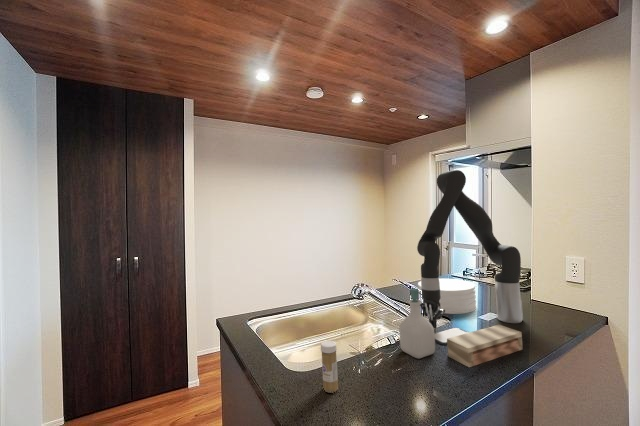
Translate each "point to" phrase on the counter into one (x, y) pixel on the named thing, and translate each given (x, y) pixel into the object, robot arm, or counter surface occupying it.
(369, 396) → the counter surface
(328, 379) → the sprinkles bottle
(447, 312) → the plate stack
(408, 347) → the soap bottle
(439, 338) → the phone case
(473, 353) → the low box
